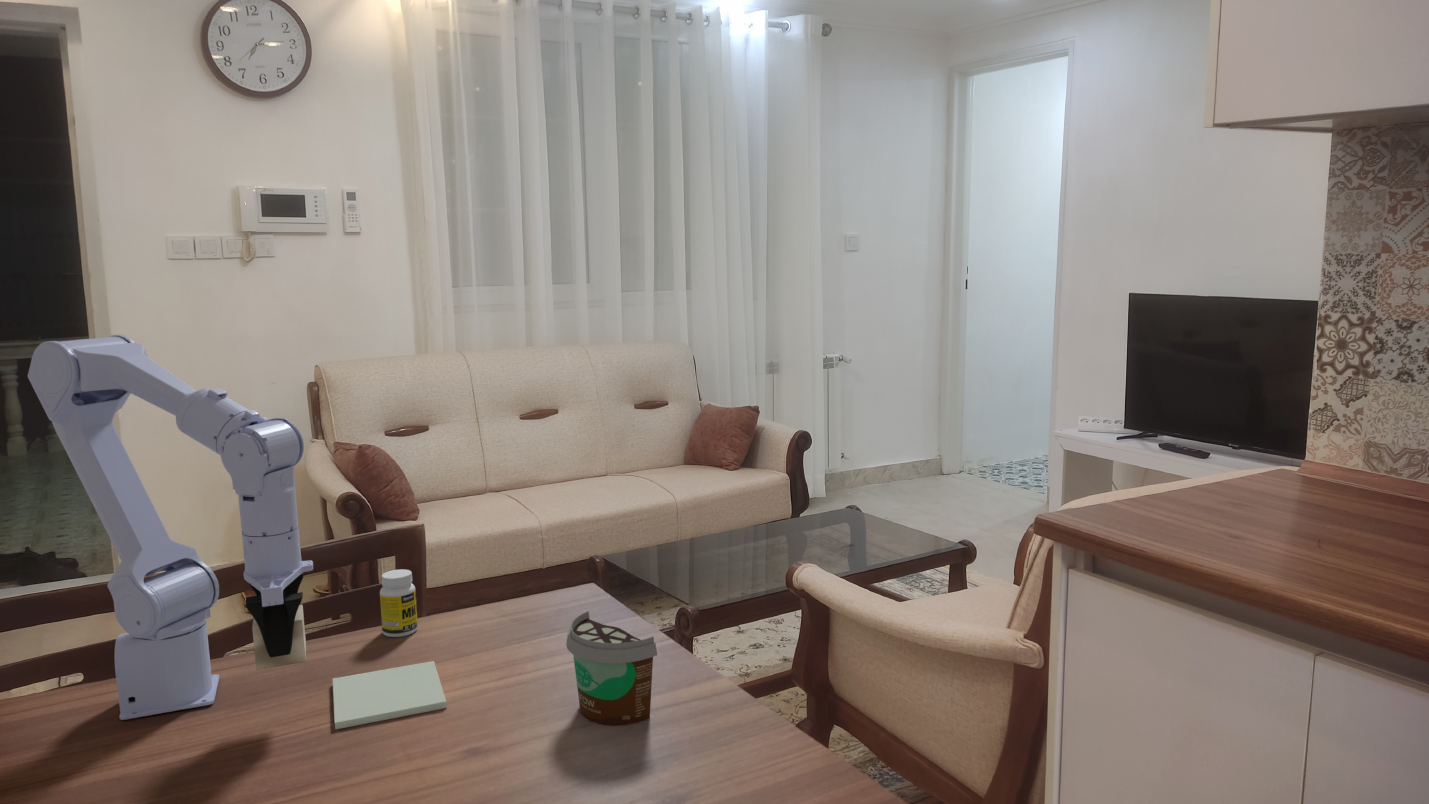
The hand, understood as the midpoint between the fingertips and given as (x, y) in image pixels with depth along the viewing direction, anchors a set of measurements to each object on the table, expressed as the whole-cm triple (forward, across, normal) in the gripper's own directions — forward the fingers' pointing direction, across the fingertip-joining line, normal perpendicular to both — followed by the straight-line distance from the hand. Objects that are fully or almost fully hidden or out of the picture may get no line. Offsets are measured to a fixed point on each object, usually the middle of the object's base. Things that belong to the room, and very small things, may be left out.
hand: (280, 645), depth 105 cm
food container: (+9, -15, -33) cm, 37 cm away
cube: (+1, 0, 0) cm, 1 cm away
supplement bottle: (+9, +20, -14) cm, 26 cm away
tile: (+8, 0, -11) cm, 14 cm away
